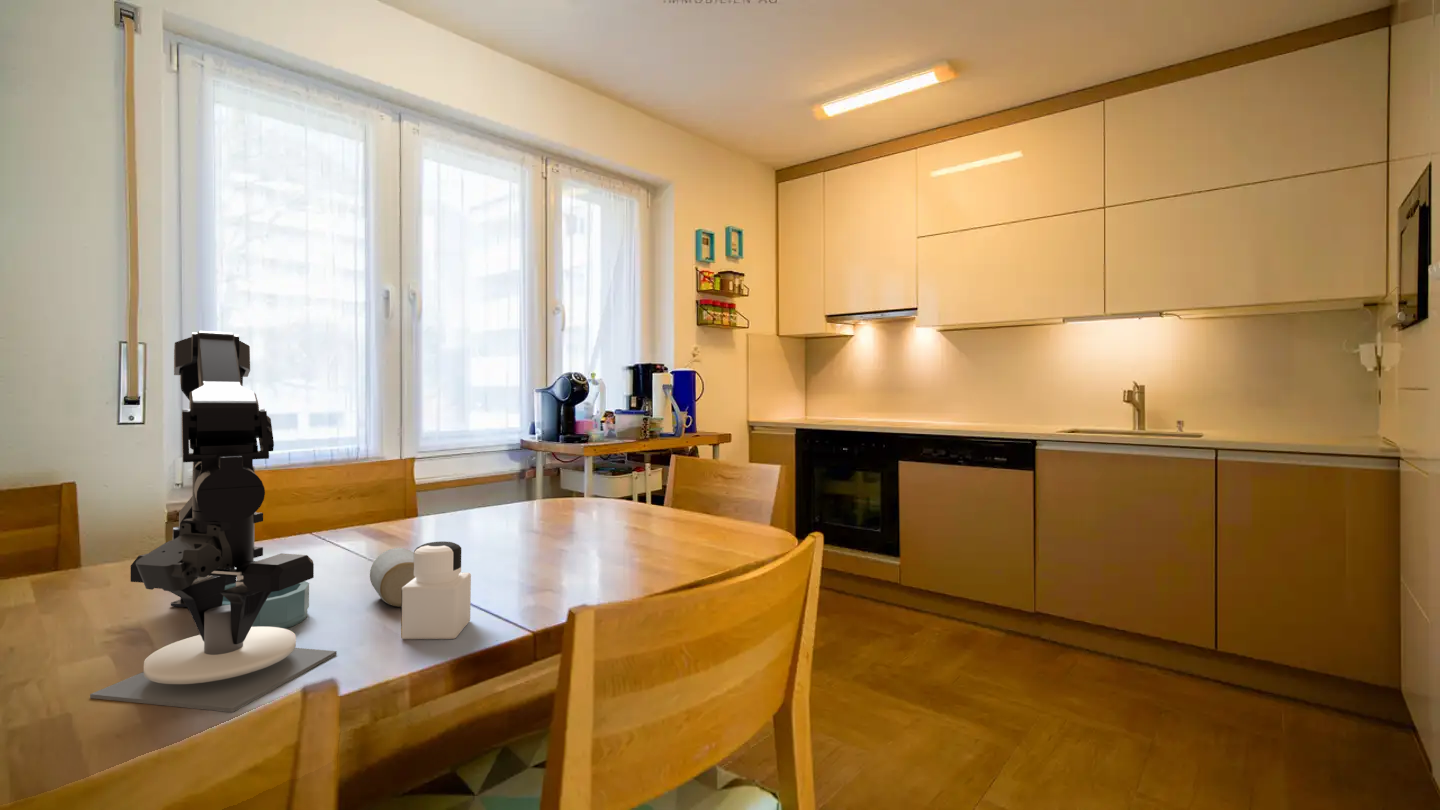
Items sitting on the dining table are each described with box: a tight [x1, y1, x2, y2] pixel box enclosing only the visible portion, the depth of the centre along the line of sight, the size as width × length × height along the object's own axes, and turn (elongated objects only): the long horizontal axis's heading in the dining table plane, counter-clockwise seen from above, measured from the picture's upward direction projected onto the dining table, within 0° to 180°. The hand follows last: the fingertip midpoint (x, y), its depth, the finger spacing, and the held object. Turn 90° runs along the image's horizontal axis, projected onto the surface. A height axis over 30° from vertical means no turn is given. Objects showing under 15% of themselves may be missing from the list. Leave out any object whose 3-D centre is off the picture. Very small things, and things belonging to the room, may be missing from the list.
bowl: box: [222, 580, 310, 629], centre depth 93 cm, size 12×12×4 cm
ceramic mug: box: [369, 547, 415, 608], centre depth 104 cm, size 11×8×8 cm
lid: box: [143, 605, 297, 684], centre depth 76 cm, size 14×14×6 cm
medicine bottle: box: [400, 540, 472, 640], centre depth 91 cm, size 7×7×12 cm
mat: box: [89, 647, 337, 713], centre depth 76 cm, size 17×15×1 cm
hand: (223, 641), depth 76 cm, fingers closed on lid, 3 cm apart
